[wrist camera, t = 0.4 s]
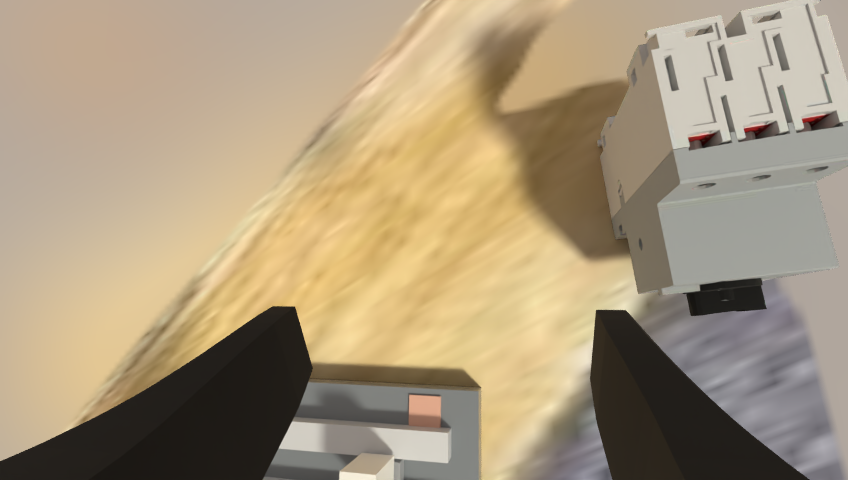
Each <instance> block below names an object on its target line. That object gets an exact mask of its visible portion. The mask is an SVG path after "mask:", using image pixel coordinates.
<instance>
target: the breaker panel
mask: <svg viewBox="0 0 848 480" xmlns="http://www.w3.org/2000/svg"><path fill="white" fill-rule="evenodd" d="M361 453H372V454H383V455H394V459H404V480H481V387H463V386H443V385H424V384H404V383H385V382H365V381H346V380H326V379H309V381H308V384H307V387H306V390H305V393H304V395H303V398H302V401H301V404H300V406H299V408H298V410H297V412H296V415H295V417H294V419H293V421H292V423H291V425H290V427H289V429H288V431H287V433H286V435H285V437H284V439H283V441H282V443H281V445H280V447H279V449H278V450H277V452H276V454H275V456H274V458H273V460H272V462H271V464H270V466H269V468H268V470H267V472H266V474H265V476H264V478H263V480H339V473H340V471H341V470H342V469H343V468H344V467H346V466H347V465H348V464H349V463H350V462H352V461H353V460H354V459H355V458H356V457H358V456H359V455H360V454H361Z"/></svg>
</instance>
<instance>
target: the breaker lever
mask: <svg viewBox="0 0 848 480" xmlns="http://www.w3.org/2000/svg"><path fill="white" fill-rule="evenodd" d="M339 480H404V459H394V455H383V454H372V453H361V454H360V455H359V456H358V457H356V458H355V459H354V460H353V461H352V462H350V463H349V464H348V465H347V466H346V467H344V468H343V469H342V470H341V471H340V473H339Z"/></svg>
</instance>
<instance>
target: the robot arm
mask: <svg viewBox="0 0 848 480" xmlns="http://www.w3.org/2000/svg"><path fill="white" fill-rule="evenodd" d="M312 369H313V368H312V364H311V361H310V357H309V354H308V350H307V347H306V343H305V340H304V336H303V333H302V329H301V326H300V322H299V319H298V315H297V312H296V309H295V307H282V306H273V307H271V308H269V309H268V310H266V311H264V312H263V313H261V314H259V315H258V316H256V317H255V318H253V319H252V320H250V321H249V322H247V323H246V324H244V325H243V326H242V327H240V328H239V329H237V330H236V331H234V332H233V333H231V334H230V335H229V336H227V337H226V338H224V339H223V340H221V341H220V342H218V343H217V344H215V345H214V346H213V347H211V348H210V349H208V350H207V351H205V352H204V353H202V354H201V355H199V356H198V357H196V358H195V359H193V360H192V361H190V362H189V363H187V364H185V365H184V366H182V367H181V368H179V369H178V370H176V371H175V372H173V373H171V374H170V375H168V376H167V377H165V378H164V379H162V380H160V381H159V382H157V383H156V384H154V385H152V386H151V387H149V388H147V389H146V390H144V391H142V392H141V393H139V394H137V395H135V396H134V397H132V398H130V399H128V400H127V401H125V402H123V403H121V404H119V405H117V406H116V407H114V408H112V409H110V410H108V411H107V412H105V413H103V414H101V415H99V416H97V417H95V418H93V419H91V420H89V421H87V422H85V423H83V424H81V425H79V426H77V427H74V428H72V429H70V430H68V431H66V432H64V433H62V434H60V435H58V436H56V437H54V438H52V439H50V440H48V441H46V442H44V443H41V444H39V445H37V446H35V447H32V448H30V449H28V450H25V451H23V452H21V453H19V454H16V455H14V456H12V457H9V458H7V459H5V460H2V461H0V480H263V478H264V476H265V474H266V472H267V470H268V468H269V466H270V464H271V462H272V460H273V458H274V456H275V454H276V452H277V450H278V449H279V447H280V445H281V443H282V441H283V439H284V437H285V435H286V433H287V431H288V429H289V427H290V425H291V423H292V421H293V419H294V417H295V415H296V412H297V410H298V408H299V406H300V404H301V401H302V398H303V395H304V393H305V390H306V387H307V384H308V381H309V378H310V375H311V372H312ZM590 381H591V388H592V394H593V401H594V408H595V414H596V420H597V425H598V428H599V432H600V436H601V439H602V443H603V447H604V451H605V454H606V458H607V461H608V465H609V469H610V472H611V476H612V479H613V480H809V479H808V478H807V477H805V476H804V475H803V474H801V473H800V472H799V471H797V470H796V469H794V468H793V467H792V466H790V465H789V464H788V463H786V462H785V461H784V460H783V459H781V458H780V457H779V456H778V455H776V454H775V453H774V452H773V451H771V450H770V449H769V448H768V447H766V446H765V445H764V444H763V443H761V442H760V441H759V440H757V439H756V438H755V437H754V436H752V435H751V434H750V433H749V432H748V431H746V430H745V429H744V428H743V427H742V426H740V425H739V424H738V423H737V422H736V421H735V420H733V419H732V418H731V417H730V416H729V415H728V414H727V413H726V412H725V411H723V410H722V409H721V408H720V407H719V406H718V405H717V404H716V403H715V402H714V401H712V400H711V399H710V398H709V397H708V396H707V395H706V394H705V393H704V392H703V391H702V390H701V389H700V388H699V387H698V386H697V385H696V384H695V383H694V382H693V381H692V380H691V379H690V378H689V377H688V376H687V375H686V374H685V373H684V372H683V371H682V370H681V369H680V368H679V367H678V366H677V365H676V364H675V363H674V362H673V361H672V360H671V359H670V358H669V357H668V356H667V355H666V354H665V353H664V352H663V351H662V350H661V348H660V347H659V346H658V345H657V344H656V343H655V342H654V341H653V340H652V339H651V338H650V336H649V335H648V334H647V333H646V332H645V331H644V330H643V329H642V328H641V326H640V325H639V324H638V323H637V322H636V321H635V320H634V318H633V317H632V316H631V315H630V314H629V313H628V312H627V311H626V310H596V317H595V329H594V341H593V352H592V364H591V376H590Z"/></svg>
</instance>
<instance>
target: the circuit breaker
mask: <svg viewBox="0 0 848 480" xmlns="http://www.w3.org/2000/svg"><path fill="white" fill-rule="evenodd" d="M819 1H820V0H791V1H786V2H781V3H776V4H772V5H767V6H762V7H757V8H753V9H748V10H743V11H740V12H739V13H738V14H737V16H736V17H735V18H734V19H733V20H732V21H731V22H730V23H729V24H728V25H727V27H726V28H724V24H723V20H722V16H721V15H719V16H714V17H710V18H704V19H700V20H695V21H691V22H686V23H681V24H676V25H671V26H666V27H661V28H657V29H652V30H647V31H646V33H645V38H646V39H649V40H648V42H647V43H646V44H643V45H639V46H638V47H637V49H636V51H635V53H634V55H633V58H632V60H631V62H630V65H629V67H628V69H627V75H628V80H629V85H630V86H629V88H628V90H627V92H626V95H625V97H624V99H623V101H622V103H621V105H620V108H619V110H618V112H617V114H616V116H612V117H607V119H606V122H605V124H604V126H603V129H602V131H601V134H600V136H601V139H600V140H598V141H597V144H598V147H599V146H603V152H602V154H601V156H600V160H601V166H602V171H603V176H604V182H605V187H606V193H607V198H608V203H609V209H610V214H611V219H612V225H613V230H614V235H615V239H624V238H627V239H628V244H629V249H630V254H631V259H632V265H633V270H634V275H635V280H636V285H637V291H638V294H642V293H651V292H658V294H659V295H666V294H676V293H683V294H687V299H688V304H689V309H690V314H691V316H698V315H707V314H713V313H720V312H729V311H750V310H761V309H767V308H766V304H765V300H764V296H763V292H762V288H761V285H762V280H768V279H775V278H781V277H787V276H793V275H799V274H805V273H811V272H817V271H823V270H829V269H833V268H838V267H839V264H838V260H837V256H836V253H835V249H834V246H833V242H832V239H831V235H830V231H829V228H828V224H827V221H826V217H825V213H824V210H823V206H822V203H821V199H820V196H819V192H818V189H817V185H816V182H817V181H818V180H820V179H822V178H824V177H826V176H828V175H831V174H833V173H835V172H837V171H839V170H841V169H843V168H845V167H847V166H848V81H847V78H846V75H845V72H844V69H843V65H842V62H841V59H840V56H839V52H838V49H837V46H836V43H835V40H834V36H833V33H832V30H831V27H830V23H829V20H828V17H827V15H823V16H818V17H817V14H816V11H815V8H814V4H817V3H818V2H819ZM763 16H764V17H763ZM758 17H763V18H762V19H761V20H760V21H759V22H758V23H756V24H753V22H752V19H754V18H758ZM695 30H699V31H698V32H697V33H696V35H695V36H692V37H687V38H686V34H685V33H686V32H690V31H695Z"/></svg>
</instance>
